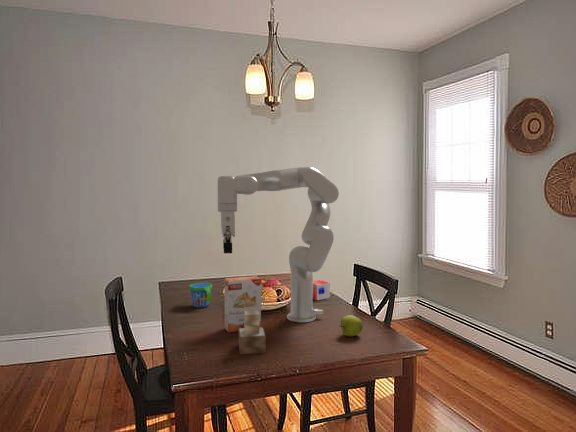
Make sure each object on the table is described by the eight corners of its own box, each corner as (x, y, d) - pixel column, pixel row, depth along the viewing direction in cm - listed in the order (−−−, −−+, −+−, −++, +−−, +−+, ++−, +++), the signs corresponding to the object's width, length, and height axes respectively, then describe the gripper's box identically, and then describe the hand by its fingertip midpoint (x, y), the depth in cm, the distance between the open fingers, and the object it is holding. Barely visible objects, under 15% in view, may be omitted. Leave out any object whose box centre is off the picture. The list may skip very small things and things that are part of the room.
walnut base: (263, 343, 170) (263, 327, 169) (265, 352, 161) (265, 335, 160) (238, 344, 168) (238, 328, 168) (239, 354, 160) (239, 336, 159)
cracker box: (228, 333, 181) (227, 281, 179) (224, 328, 186) (223, 277, 184) (261, 328, 186) (261, 278, 184) (256, 324, 192) (256, 275, 190)
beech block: (258, 329, 167) (258, 310, 166) (259, 333, 162) (259, 314, 162) (244, 329, 166) (244, 310, 166) (245, 334, 161) (245, 315, 161)
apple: (335, 334, 180) (335, 314, 180) (355, 331, 184) (355, 311, 183) (345, 340, 173) (345, 320, 173) (365, 337, 177) (366, 317, 176)
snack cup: (184, 303, 221) (183, 283, 220) (204, 300, 227) (204, 280, 226) (197, 311, 208) (197, 290, 208) (218, 308, 214) (218, 286, 214)
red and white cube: (320, 294, 240) (320, 279, 239) (329, 298, 233) (329, 282, 233) (307, 296, 236) (308, 281, 235) (316, 300, 229) (316, 284, 228)
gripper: (238, 209, 171) (238, 254, 172) (236, 206, 188) (236, 247, 189) (217, 209, 170) (218, 255, 171) (217, 206, 187) (218, 247, 188)
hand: (227, 251), depth 180 cm, fingers open, 9 cm apart
